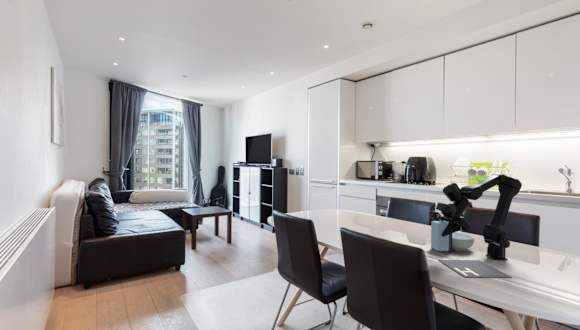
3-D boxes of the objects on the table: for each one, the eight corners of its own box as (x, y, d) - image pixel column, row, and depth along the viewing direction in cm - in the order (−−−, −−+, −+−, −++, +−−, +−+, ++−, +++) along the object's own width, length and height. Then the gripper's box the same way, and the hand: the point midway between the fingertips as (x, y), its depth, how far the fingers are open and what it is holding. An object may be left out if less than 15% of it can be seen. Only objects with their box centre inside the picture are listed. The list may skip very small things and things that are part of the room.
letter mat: (479, 260, 132) (479, 260, 132) (511, 277, 113) (511, 276, 113) (438, 260, 131) (438, 259, 131) (464, 277, 112) (464, 276, 112)
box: (431, 249, 149) (431, 229, 149) (439, 248, 150) (440, 228, 150) (443, 253, 141) (444, 232, 141) (452, 252, 143) (452, 231, 143)
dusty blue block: (441, 247, 130) (441, 220, 129) (448, 250, 125) (449, 223, 124) (430, 247, 129) (431, 221, 129) (438, 250, 124) (438, 223, 124)
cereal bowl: (481, 253, 142) (481, 239, 142) (447, 253, 143) (448, 238, 143) (461, 243, 159) (462, 231, 159) (431, 243, 160) (432, 230, 160)
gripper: (431, 194, 136) (412, 218, 134) (465, 199, 118) (443, 227, 116) (445, 209, 139) (425, 233, 136) (480, 217, 121) (458, 245, 118)
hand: (437, 234), depth 126 cm, fingers closed on dusty blue block, 5 cm apart
